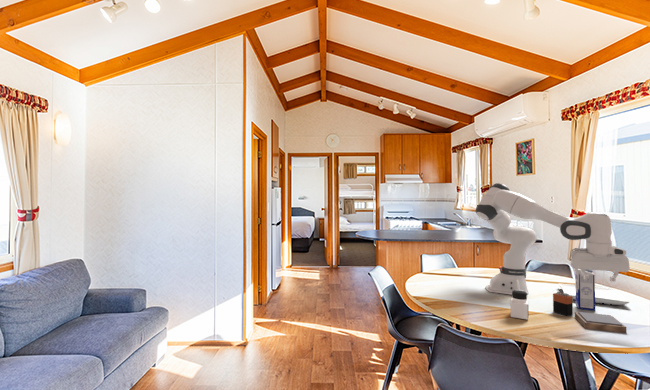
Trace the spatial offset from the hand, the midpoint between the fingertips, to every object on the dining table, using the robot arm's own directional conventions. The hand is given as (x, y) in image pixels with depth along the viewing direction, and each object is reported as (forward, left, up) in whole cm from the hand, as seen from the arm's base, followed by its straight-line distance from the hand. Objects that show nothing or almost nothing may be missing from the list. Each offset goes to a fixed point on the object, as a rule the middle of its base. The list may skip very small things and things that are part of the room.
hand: (599, 280), depth 147 cm
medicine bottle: (-31, -1, -20) cm, 37 cm away
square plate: (+11, +49, -20) cm, 54 cm away
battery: (-11, +11, -20) cm, 25 cm away
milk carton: (+2, +25, -20) cm, 32 cm away
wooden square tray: (0, 0, -20) cm, 20 cm away
